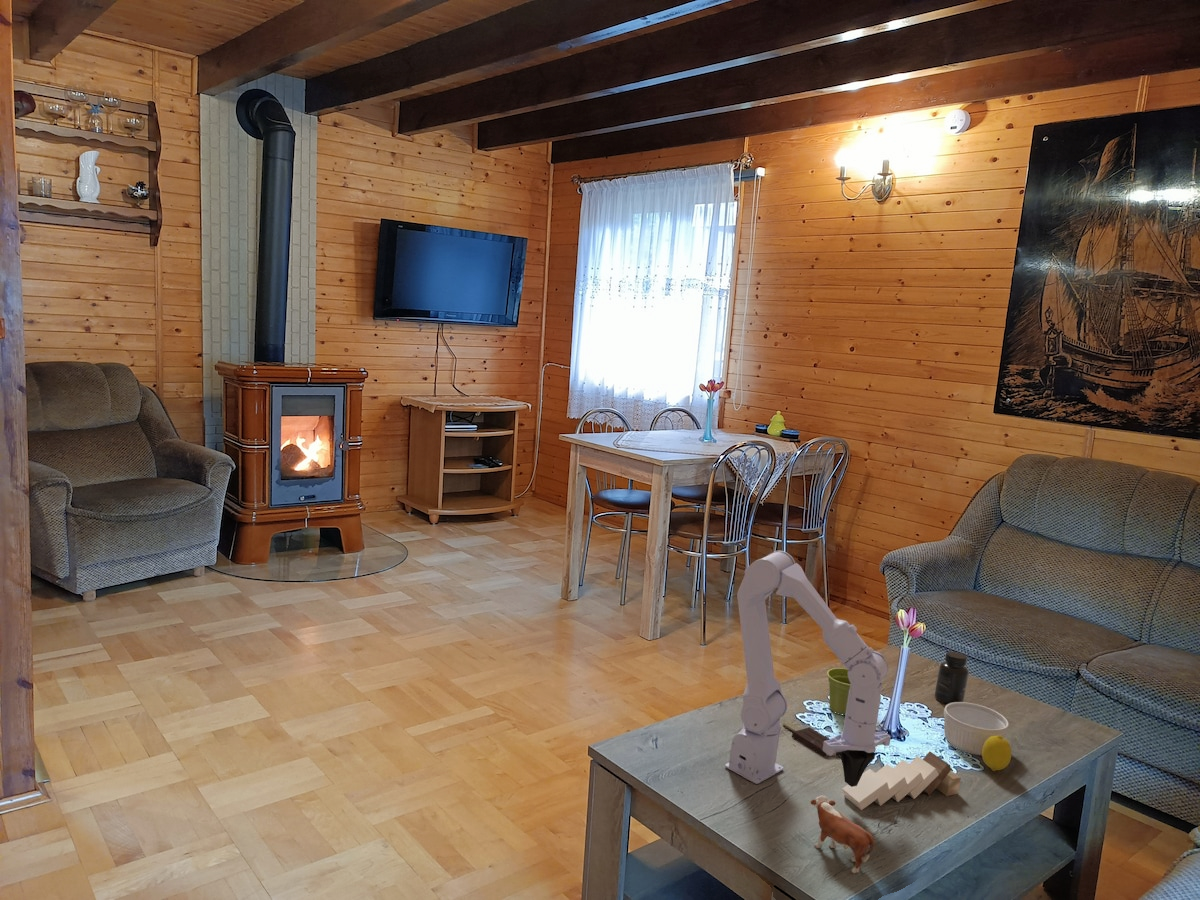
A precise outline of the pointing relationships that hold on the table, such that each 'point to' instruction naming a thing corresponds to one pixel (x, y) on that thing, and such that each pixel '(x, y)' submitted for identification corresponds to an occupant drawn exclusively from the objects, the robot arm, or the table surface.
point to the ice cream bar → (809, 738)
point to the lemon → (996, 752)
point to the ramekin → (972, 725)
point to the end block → (950, 784)
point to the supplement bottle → (952, 679)
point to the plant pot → (838, 689)
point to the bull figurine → (842, 832)
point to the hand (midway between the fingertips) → (850, 783)
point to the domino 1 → (866, 789)
